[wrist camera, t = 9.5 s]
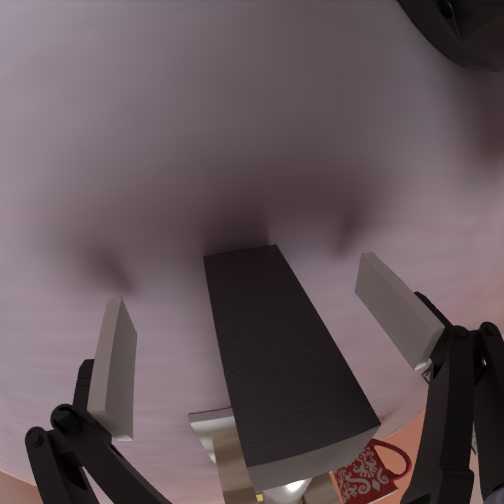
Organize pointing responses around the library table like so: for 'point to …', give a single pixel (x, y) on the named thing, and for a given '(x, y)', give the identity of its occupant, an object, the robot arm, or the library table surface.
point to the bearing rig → (233, 464)
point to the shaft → (283, 375)
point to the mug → (368, 476)
